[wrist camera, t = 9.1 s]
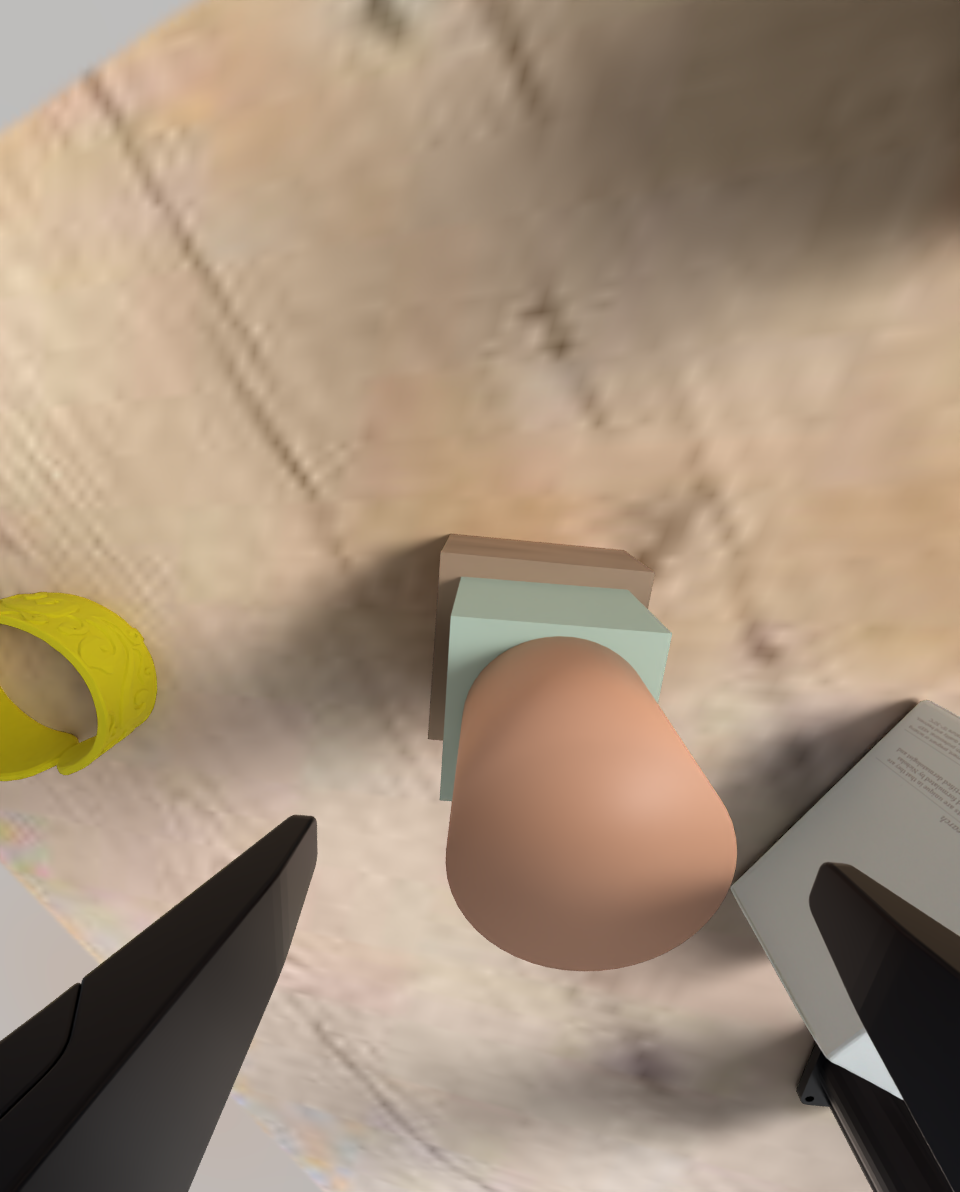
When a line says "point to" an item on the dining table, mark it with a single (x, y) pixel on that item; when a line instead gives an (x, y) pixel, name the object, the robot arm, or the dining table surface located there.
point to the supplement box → (862, 870)
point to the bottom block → (521, 565)
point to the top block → (536, 610)
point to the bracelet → (106, 663)
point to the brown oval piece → (581, 813)
